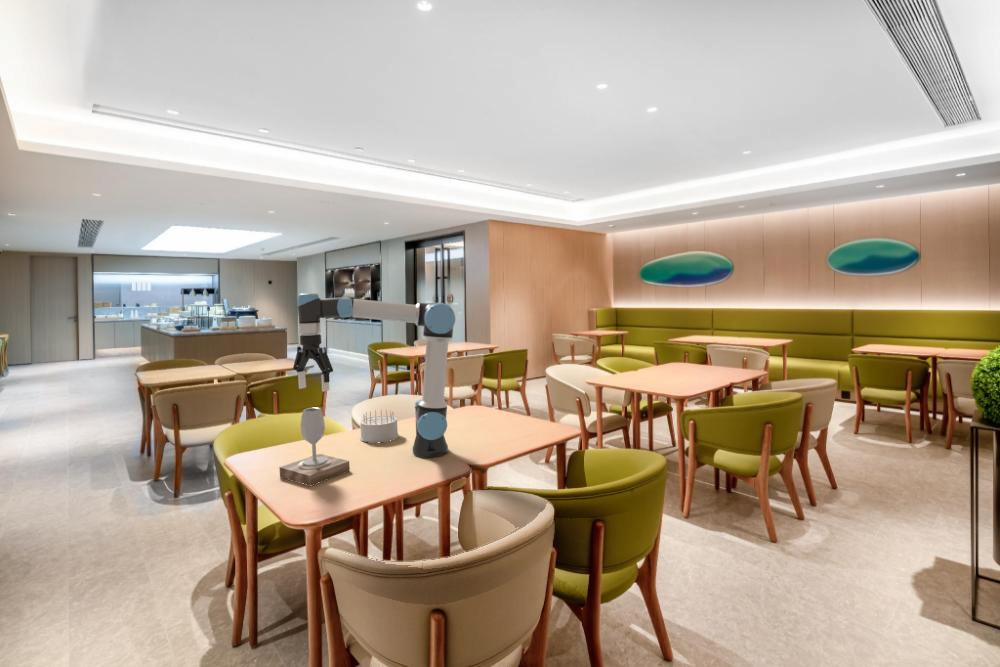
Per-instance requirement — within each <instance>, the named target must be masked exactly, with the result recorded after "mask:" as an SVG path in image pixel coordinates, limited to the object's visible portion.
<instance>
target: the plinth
mask: <svg viewBox="0 0 1000 667" xmlns="http://www.w3.org/2000/svg"><path fill="white" fill-rule="evenodd" d="M316 456H317V457H323V458H326V459H327V461H326V462H325V463H324V464H321V465H318V466H305V465H303V464H302V463H303V462H304V461H305V460H307V459H310V458H313V455H312V456H308V457H305V458H303V459H299V460H297V461H294V462H291V463H288V464H285V465H282V466H279V478H280V477H283V478H286V479H285V480H287V479H289V480H288V481H290V480H293V481H297V482H300V483H304V484H307V485H313V484H316V483H318V482H321V481H323V482H325V481H324V480H326V479H328V480H330V479H329V478H331V477H333V478H335V477H334V476H336V475H338V476H340V475H339V474H341V475H343V474H345V473H344V472H346V473H348V472H350V471H351V470H350V460H347V459H342V458H339V457H334V456H330V455H326V454H322V453H316ZM349 470H350V471H349ZM347 471H348V472H347ZM342 473H343V474H342ZM336 477H337V476H336ZM283 478H282V479H283ZM331 479H332V478H331ZM293 481H292V482H293ZM326 481H327V480H326ZM297 482H296V483H297ZM300 483H299V484H300ZM321 483H322V482H321ZM304 484H303V485H304ZM318 484H319V483H318ZM307 485H306V486H307ZM316 485H317V484H316ZM313 486H314V485H313Z"/></svg>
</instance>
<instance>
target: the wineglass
mask: <svg viewBox="0 0 1000 667" xmlns="http://www.w3.org/2000/svg"><path fill="white" fill-rule="evenodd" d="M325 426H326V424H325V419H324V413H323V411H322V409H321V408H320V407H308V408H305V409H303V410H302V414H301V419H300V433H301V435H302V438H303V440H305V441H306V442H307V443H309V444H310V445H311V453H312V456H313V458H310V459H307V460H305V461H304V462H303V463H302V464H303V465H305V466H318V465H321V464H324V463H325V462H326V461H327V459H326V458H323V457H317V456H316V455H317V443H318V442H320V441H321V439H322V438H323V437H324V433H325V430H326V427H325Z"/></svg>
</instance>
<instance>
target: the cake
mask: <svg viewBox="0 0 1000 667" xmlns="http://www.w3.org/2000/svg"><path fill="white" fill-rule="evenodd" d="M374 413H375V414H374V416H372V411H371V410H370V412H369V417H368V413H367V412H365V415H363V419H362V420H360V421H359V424H360V437H359V441H361V442H362V441H364V442H363V443H365V442H368V443H367V444H379V443H378V442H384V443H386V442H385V441H389V442H391V441H390V440H393V439H395V440H397V439H398V438H399V437H400V435H399V431H398V418H397V417H395V416H394V411H391V409H390V410H389V415H388V410H387V409H385V415H383V412H382V409H380V415H377V410H376V409H375V410H374ZM398 436H399V437H398ZM396 438H397V439H396ZM393 441H394V440H393Z"/></svg>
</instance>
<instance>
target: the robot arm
mask: <svg viewBox="0 0 1000 667" xmlns="http://www.w3.org/2000/svg"><path fill="white" fill-rule="evenodd" d="M297 312H298V328H299V329H298V330H299V331H298V332H299V335H300V336H299V342H300V345H301V346H300V345H299V346H297V347H296V355H295V359H294V363H293V367H292V369H293V370H294V371H296V373H297V380H298V389H299V390H303V389H306V388H307V381H306V380H307V379H306V370H305V369H306V368H305V367H306V366H307V363H308V362H309V360H313V361H315V363H316V364H317V366H318V368H319V369H320V372H321V392H324V393H325V392H328V391H330V373H333V372H334V367H333V365H332V363H331V361H330V358H329V355H328V353H327V348H326V347H325V346H323V347H320V346H321V344H322V335H321V319H327V318H329V319H331V318H343V319H344V318H358V319H369V320H377V321H378V320H379V321H391V322H399V323H412V324H415V326H418V327H423V332H422V333H423V334H422V337H424V339H425V340H426V346H425V357H424V371H423V372H424V373H423V386H422V387H423V388H422V399H419V400H416V401H415V402H414V409H415V410H414V412H415V413H414V414H415V415H414V416H415V438H414V442H413V446H412V455H413V454H414V455H413V456H415V457H418V456H419V458H425V457H429V458H437V457H441V456H443V455H446V454H447V453H448V452H449V446H448V443H447V441H446V438H445V434H446V431H447V428H448V421H447V414H448V413H447V412H448V403H446V401H445V391H446V390H445V388H446V379H447V378H446V377H447V365H448V364H447V363H448V362H447V361H448V350H449V342H450V341H451V340H452V339H453V334H454V325H455V323H456V314H455V312H454V310H453V309H452V307H451V306H450V305H448V304H446V303H443V302H432V303H431V302H430V303H429V302H428V303H427V302H425V303H424V302H418V303H416V304H410V303H400V302H390V301H388V302H387V301H381V300H380V301H379V300H370V299H369V300H368V299H360V298H350V297H343V296H342V297H341V296H338V297H328V298H325V297H320V296H319V294H318V293H316V292H315V293H299V295H298V296H297Z"/></svg>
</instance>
